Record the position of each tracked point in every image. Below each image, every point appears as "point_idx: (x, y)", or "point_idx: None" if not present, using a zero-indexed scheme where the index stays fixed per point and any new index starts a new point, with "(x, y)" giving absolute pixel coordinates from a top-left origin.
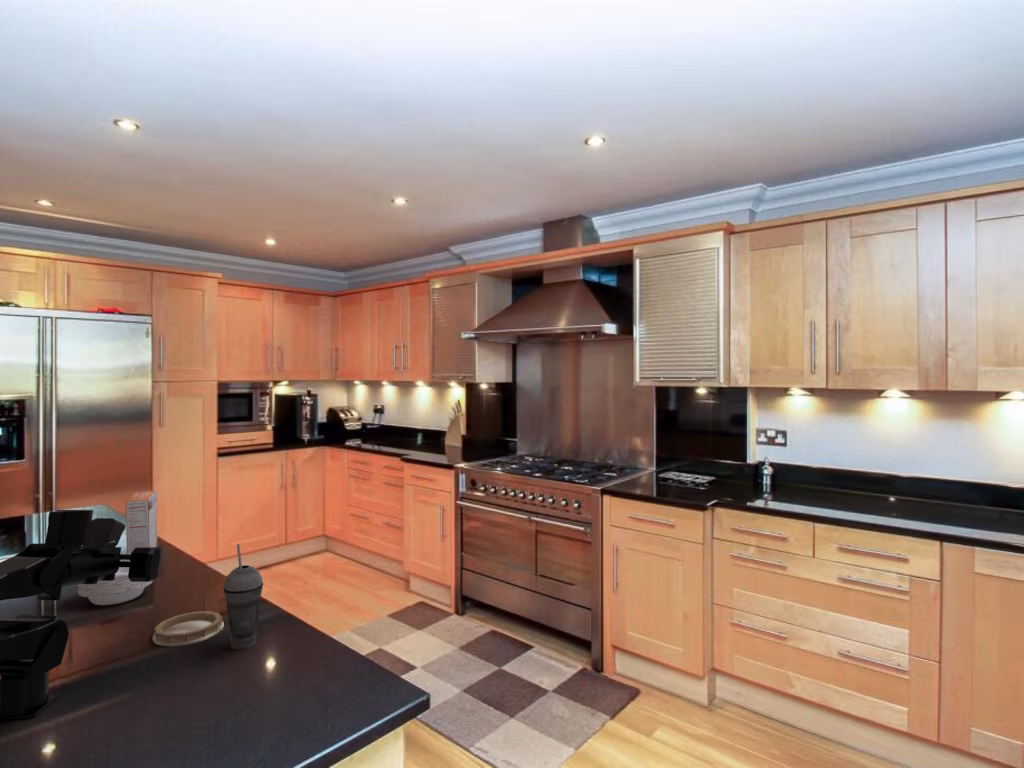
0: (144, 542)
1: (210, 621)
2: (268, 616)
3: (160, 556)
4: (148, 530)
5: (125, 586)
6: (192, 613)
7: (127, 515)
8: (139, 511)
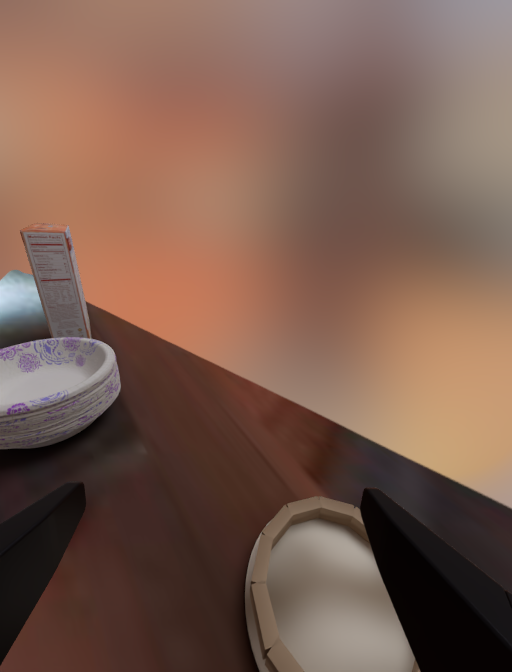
0: (73, 305)
1: (341, 528)
2: (422, 484)
3: (417, 522)
4: (76, 286)
5: (75, 416)
6: (294, 513)
7: (31, 258)
8: (52, 252)
